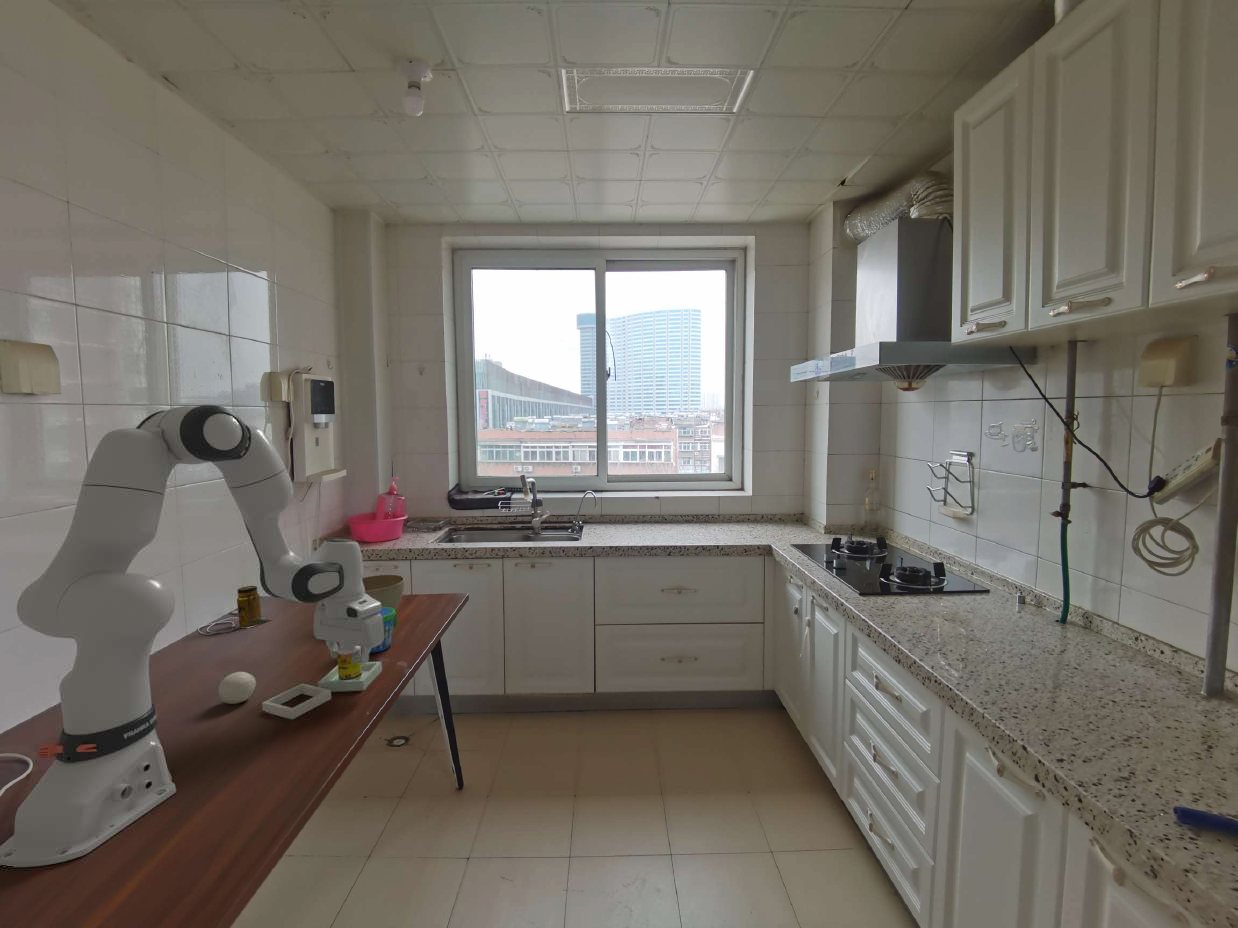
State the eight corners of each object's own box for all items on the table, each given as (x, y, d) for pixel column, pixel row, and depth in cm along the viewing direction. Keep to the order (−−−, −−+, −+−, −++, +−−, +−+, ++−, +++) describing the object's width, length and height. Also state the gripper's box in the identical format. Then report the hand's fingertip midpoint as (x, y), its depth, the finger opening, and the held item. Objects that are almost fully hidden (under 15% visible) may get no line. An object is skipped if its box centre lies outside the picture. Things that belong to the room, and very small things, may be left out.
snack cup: (384, 635, 167) (382, 602, 166) (412, 640, 163) (409, 605, 162) (339, 656, 152) (336, 620, 152) (368, 662, 148) (365, 624, 147)
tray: (363, 690, 132) (363, 680, 132) (318, 692, 132) (317, 682, 132) (382, 670, 143) (381, 661, 143) (340, 671, 143) (339, 663, 143)
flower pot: (350, 614, 187) (347, 578, 186) (408, 606, 193) (405, 572, 192) (341, 633, 170) (338, 593, 169) (404, 624, 175) (402, 586, 174)
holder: (331, 698, 129) (330, 690, 129) (292, 719, 120) (291, 710, 120) (302, 691, 133) (302, 683, 133) (262, 711, 124) (262, 702, 124)
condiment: (232, 626, 179) (229, 589, 178) (257, 617, 187) (254, 582, 186) (249, 629, 177) (245, 591, 176) (273, 619, 184) (270, 583, 184)
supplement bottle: (334, 680, 136) (331, 641, 136) (353, 671, 141) (350, 634, 140) (348, 684, 134) (345, 645, 133) (367, 675, 138) (364, 637, 138)
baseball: (264, 694, 132) (262, 667, 131) (235, 710, 125) (233, 681, 124) (242, 692, 134) (239, 664, 133) (212, 707, 127) (210, 678, 126)
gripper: (304, 603, 137) (308, 658, 139) (365, 612, 129) (369, 671, 130) (327, 596, 143) (331, 648, 144) (386, 604, 135) (390, 660, 136)
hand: (349, 659), depth 137 cm, fingers open, 8 cm apart
